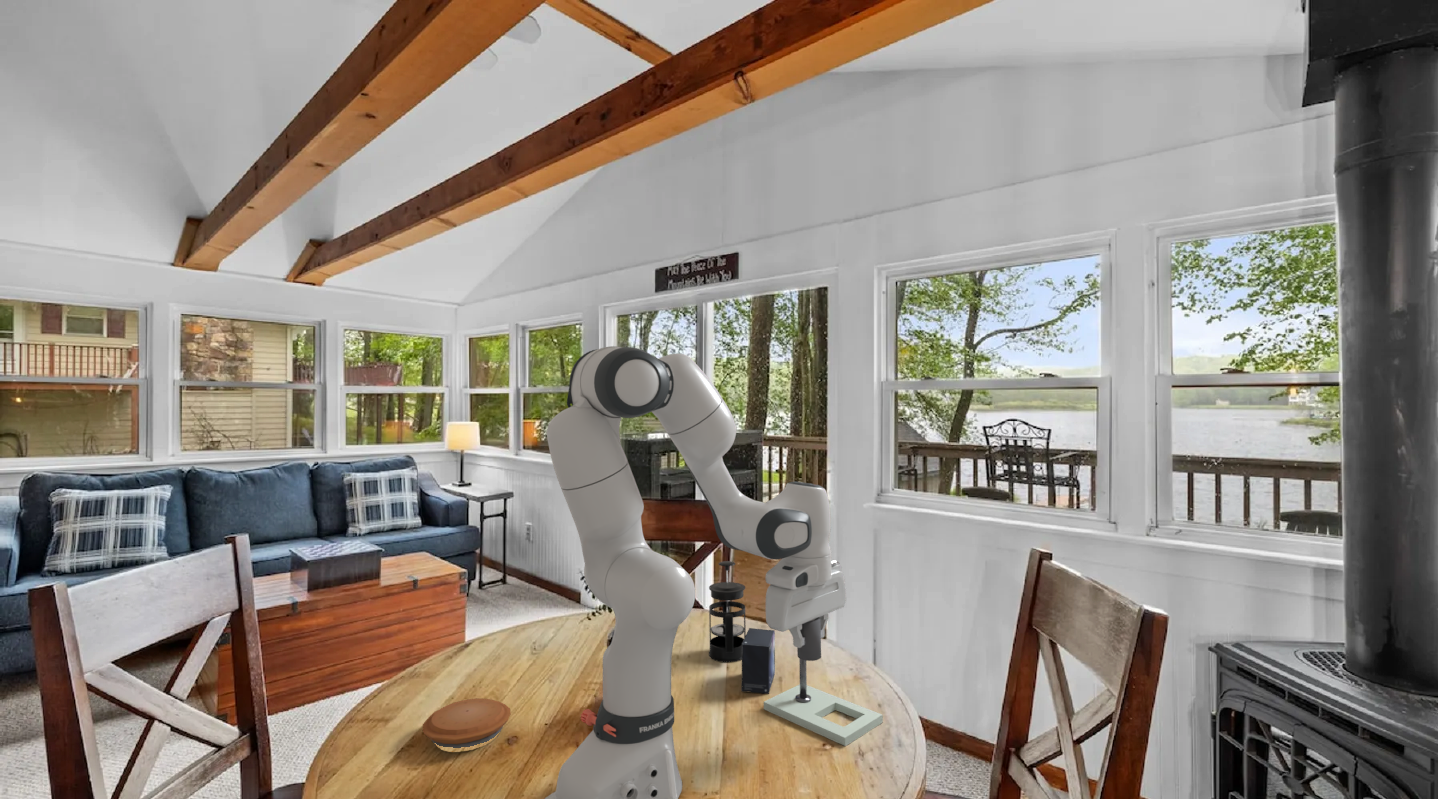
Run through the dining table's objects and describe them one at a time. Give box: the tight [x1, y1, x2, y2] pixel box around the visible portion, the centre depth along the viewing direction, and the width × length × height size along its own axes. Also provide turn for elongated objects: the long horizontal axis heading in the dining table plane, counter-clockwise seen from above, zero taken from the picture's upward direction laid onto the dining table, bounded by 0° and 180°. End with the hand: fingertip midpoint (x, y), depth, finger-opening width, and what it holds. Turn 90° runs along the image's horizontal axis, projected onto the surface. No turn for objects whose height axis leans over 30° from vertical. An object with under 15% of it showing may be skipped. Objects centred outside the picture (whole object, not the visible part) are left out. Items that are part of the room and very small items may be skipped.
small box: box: [740, 627, 776, 695], centre depth 144 cm, size 11×6×10 cm, turn 168°
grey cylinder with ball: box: [796, 617, 822, 662], centre depth 121 cm, size 4×4×8 cm
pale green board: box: [763, 683, 884, 747], centre depth 129 cm, size 12×20×2 cm, turn 44°
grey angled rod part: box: [795, 658, 811, 703], centre depth 134 cm, size 7×3×10 cm, turn 134°
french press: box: [708, 560, 747, 663], centre depth 160 cm, size 12×9×23 cm
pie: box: [421, 697, 512, 748], centre depth 122 cm, size 16×16×5 cm
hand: (809, 641), depth 121 cm, fingers closed on grey cylinder with ball, 4 cm apart
